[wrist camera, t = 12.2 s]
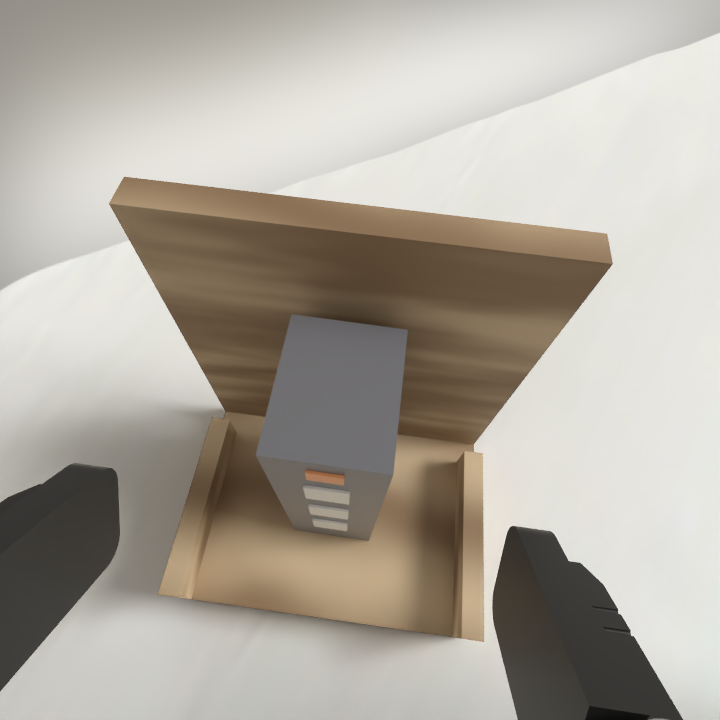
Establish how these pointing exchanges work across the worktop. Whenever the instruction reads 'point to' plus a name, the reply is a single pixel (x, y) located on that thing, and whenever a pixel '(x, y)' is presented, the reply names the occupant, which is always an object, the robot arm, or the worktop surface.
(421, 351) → the wooden angled stand
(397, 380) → the power strip
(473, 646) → the worktop surface
